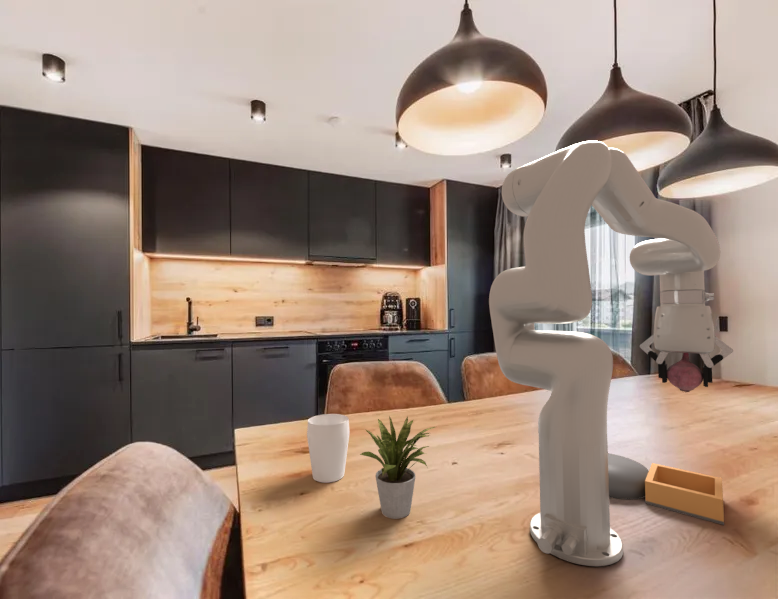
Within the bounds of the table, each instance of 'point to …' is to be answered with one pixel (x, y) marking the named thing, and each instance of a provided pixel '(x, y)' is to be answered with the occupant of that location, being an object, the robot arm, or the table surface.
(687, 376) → the vegetable
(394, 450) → the house plant
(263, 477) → the table surface
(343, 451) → the cup
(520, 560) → the table surface
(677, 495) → the dome with orange frame
